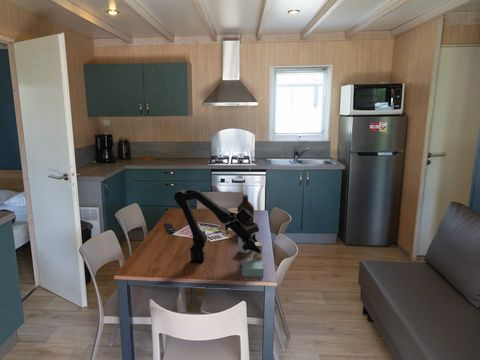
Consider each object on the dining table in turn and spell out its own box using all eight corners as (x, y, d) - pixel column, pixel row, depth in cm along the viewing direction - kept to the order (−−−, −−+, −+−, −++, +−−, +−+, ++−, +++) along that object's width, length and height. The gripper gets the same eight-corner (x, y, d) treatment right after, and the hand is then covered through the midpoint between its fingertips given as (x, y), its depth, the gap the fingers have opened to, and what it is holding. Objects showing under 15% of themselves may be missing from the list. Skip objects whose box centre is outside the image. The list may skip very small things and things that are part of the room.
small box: (246, 247, 198) (246, 229, 196) (254, 249, 195) (254, 231, 193) (237, 251, 192) (237, 233, 190) (245, 253, 189) (245, 235, 187)
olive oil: (244, 236, 216) (244, 198, 211) (234, 232, 224) (233, 195, 219) (257, 232, 222) (257, 195, 218) (246, 228, 231) (246, 192, 226)
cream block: (252, 263, 176) (252, 245, 174) (253, 259, 181) (253, 242, 179) (262, 264, 176) (262, 245, 174) (262, 260, 181) (262, 242, 179)
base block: (242, 276, 163) (242, 268, 162) (243, 267, 173) (243, 259, 172) (263, 276, 162) (263, 268, 161) (263, 267, 172) (263, 260, 171)
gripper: (249, 224, 165) (271, 246, 166) (250, 213, 183) (271, 233, 185) (233, 240, 167) (255, 261, 169) (236, 227, 186) (256, 247, 187)
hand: (260, 250), depth 177 cm, fingers open, 6 cm apart
